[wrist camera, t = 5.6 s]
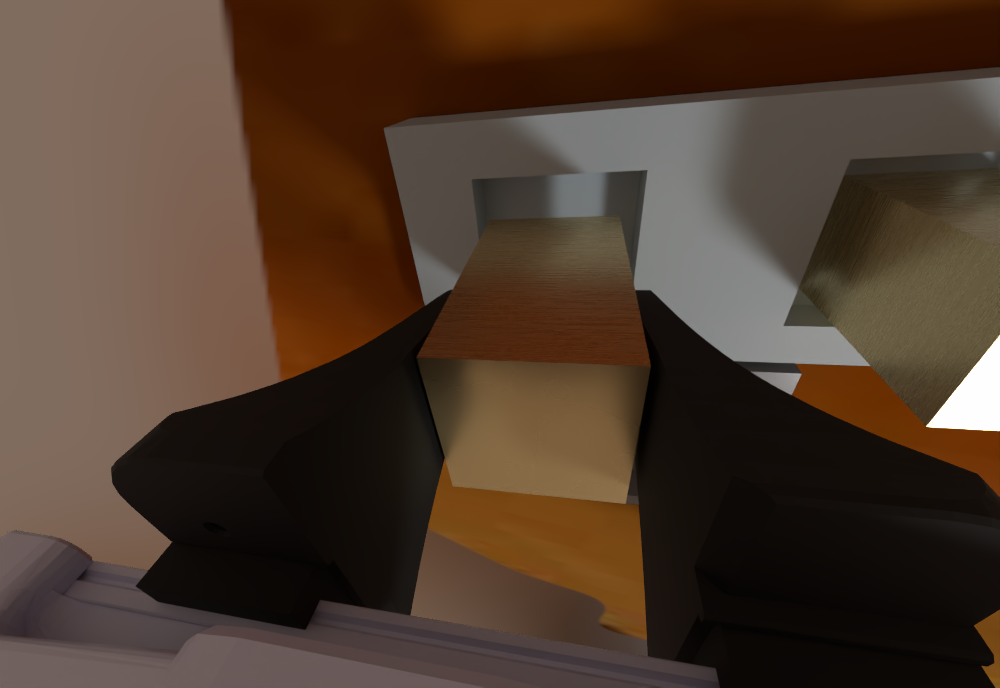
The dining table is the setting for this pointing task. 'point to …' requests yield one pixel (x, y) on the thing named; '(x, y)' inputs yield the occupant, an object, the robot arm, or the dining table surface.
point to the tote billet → (541, 361)
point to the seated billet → (918, 287)
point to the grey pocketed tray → (694, 188)
